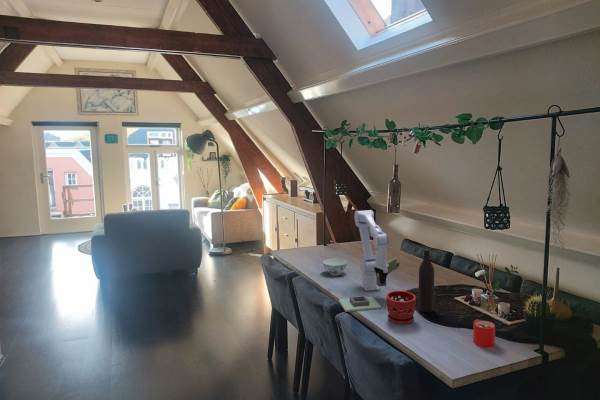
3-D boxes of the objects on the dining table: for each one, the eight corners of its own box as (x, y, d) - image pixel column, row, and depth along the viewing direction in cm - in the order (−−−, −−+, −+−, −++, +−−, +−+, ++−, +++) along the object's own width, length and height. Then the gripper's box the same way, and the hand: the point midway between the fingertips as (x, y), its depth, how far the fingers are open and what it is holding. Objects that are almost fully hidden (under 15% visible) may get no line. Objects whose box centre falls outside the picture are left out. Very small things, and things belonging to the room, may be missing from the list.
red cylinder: (482, 333, 175) (482, 315, 174) (498, 346, 164) (499, 327, 162) (464, 334, 175) (464, 316, 173) (479, 348, 163) (480, 329, 162)
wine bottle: (433, 308, 203) (433, 248, 199) (434, 313, 196) (435, 251, 192) (418, 307, 204) (418, 247, 200) (419, 313, 198) (419, 251, 194)
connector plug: (376, 283, 219) (376, 272, 219) (383, 283, 220) (383, 272, 219) (378, 286, 215) (378, 275, 215) (386, 285, 216) (386, 274, 215)
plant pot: (380, 318, 193) (380, 294, 191) (401, 312, 199) (401, 288, 197) (400, 329, 181) (400, 303, 180) (422, 322, 188) (422, 296, 186)
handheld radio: (378, 275, 257) (396, 264, 276) (383, 276, 255) (400, 265, 274) (379, 264, 255) (396, 255, 275) (384, 265, 253) (401, 256, 273)
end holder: (338, 301, 215) (338, 295, 215) (372, 298, 218) (372, 292, 218) (345, 311, 202) (345, 306, 201) (381, 308, 204) (381, 302, 204)
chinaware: (352, 272, 261) (351, 260, 260) (337, 279, 250) (337, 266, 249) (333, 268, 271) (332, 257, 270) (318, 274, 260) (318, 262, 259)
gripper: (393, 260, 209) (393, 286, 211) (383, 252, 223) (383, 277, 225) (380, 261, 208) (380, 287, 210) (370, 253, 222) (371, 278, 224)
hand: (381, 282), depth 218 cm, fingers closed on connector plug, 4 cm apart
